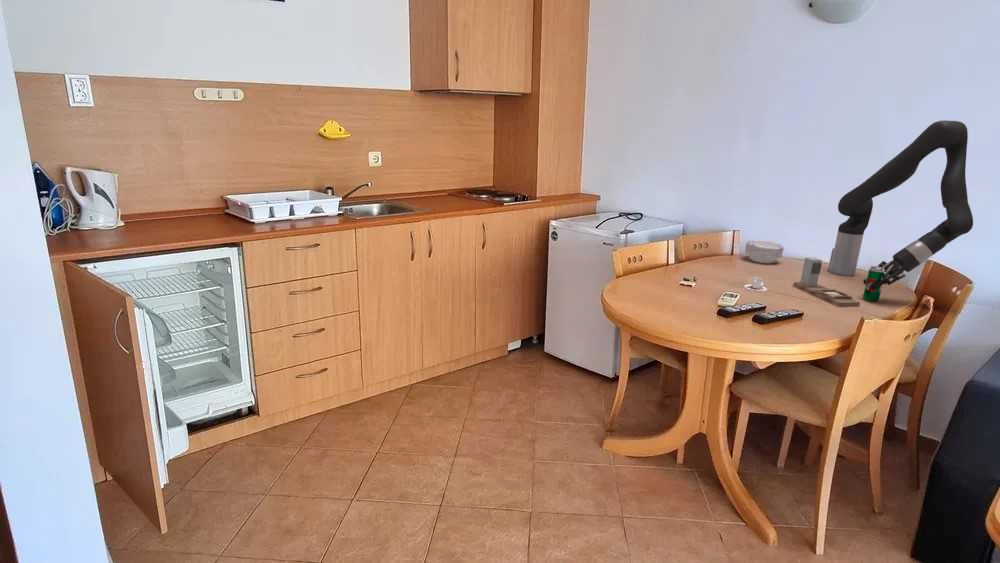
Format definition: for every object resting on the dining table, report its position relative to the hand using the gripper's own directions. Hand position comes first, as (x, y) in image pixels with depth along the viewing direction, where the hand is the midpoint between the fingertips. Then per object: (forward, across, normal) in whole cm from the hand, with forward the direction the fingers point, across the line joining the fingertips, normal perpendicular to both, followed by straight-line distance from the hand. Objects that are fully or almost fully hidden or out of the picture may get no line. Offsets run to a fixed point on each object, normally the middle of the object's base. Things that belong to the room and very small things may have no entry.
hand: (868, 285), depth 212 cm
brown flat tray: (+13, -1, -6) cm, 14 cm away
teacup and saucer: (+28, -4, -20) cm, 34 cm away
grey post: (+14, -9, -9) cm, 19 cm away
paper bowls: (+20, -50, -12) cm, 55 cm away
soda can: (+3, 0, +5) cm, 6 cm away
